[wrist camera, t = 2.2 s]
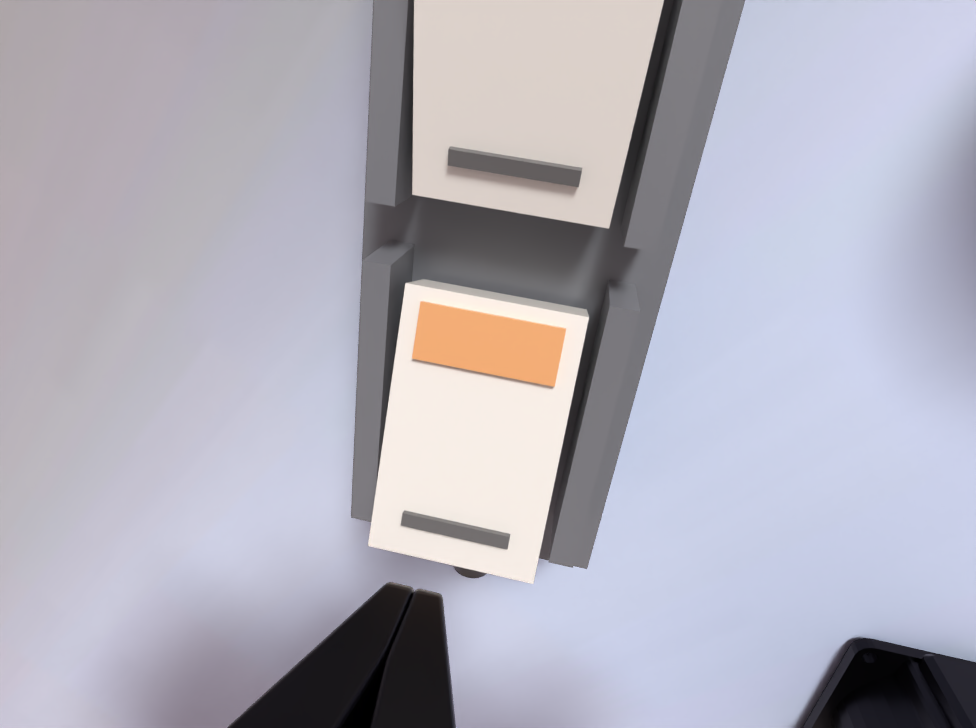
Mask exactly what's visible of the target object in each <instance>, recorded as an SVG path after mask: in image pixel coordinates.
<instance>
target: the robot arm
mask: <svg viewBox="0 0 976 728" xmlns="http://www.w3.org/2000/svg"><path fill="white" fill-rule="evenodd" d="M866 653H867V654H866ZM227 728H456V724H455V714H454V704H453V694H452V685H451V675H450V665H449V655H448V646H447V636H446V626H445V616H444V607H443V598H442V596H441V595H440V594H439V593H435V592H431V591H427V590H423V589H417V590H416V591H415V592H414V589H413V588H412V587H410V586H406V585H401V584H397V583H393V582H389V583H386V584H385V585H384V586H383V587H381V588H380V589H379V590H378V591H377V592H376V593H375V594H374V595H373V596H372V597H370V598H369V599H368V600H367V601H366V602H365V603H364V604H363V605H362V606H361V607H359V608H358V609H357V610H356V611H355V612H354V613H353V614H352V615H351V616H350V617H348V618H347V619H346V620H345V621H344V622H343V623H342V624H341V625H340V626H339V627H337V628H336V629H335V630H334V631H333V632H332V633H331V634H330V635H329V636H328V637H326V638H325V639H324V640H323V641H322V642H321V643H320V644H319V645H318V646H317V647H315V648H314V649H313V650H312V651H311V652H310V653H309V654H308V655H307V656H306V657H304V658H303V659H302V660H301V661H300V662H299V663H298V664H297V665H296V666H295V667H293V668H292V669H291V670H290V671H289V672H288V673H287V674H286V675H285V676H284V677H282V678H281V679H280V680H279V681H278V682H277V683H276V684H275V685H274V686H273V687H271V688H270V689H269V690H268V691H267V692H266V693H265V694H264V695H263V696H262V697H260V698H259V699H258V700H257V701H256V702H255V703H254V704H253V705H252V706H251V707H249V708H248V709H247V710H246V711H245V712H244V713H243V714H242V715H241V716H240V717H238V718H237V719H236V720H235V721H234V722H233V723H232V724H231V725H230V726H229V727H227ZM803 728H976V662H971V661H967V660H963V659H958V658H954V657H949V656H945V655H940V654H936V653H932V652H927V651H923V650H918V649H914V648H910V647H905V646H901V645H896V644H892V643H888V642H883V641H879V640H874V639H868V638H863V639H858V640H856V641H854V642H853V643H852V644H851V645H850V647H849V649H848V651H847V652H846V654H845V656H844V657H843V659H842V661H841V663H840V664H839V666H838V668H837V669H836V671H835V673H834V675H833V676H832V678H831V680H830V681H829V683H828V685H827V687H826V688H825V690H824V692H823V694H822V695H821V697H820V699H819V700H818V702H817V704H816V706H815V707H814V709H813V711H812V712H811V714H810V716H809V718H808V719H807V721H806V723H805V724H804V726H803Z"/></svg>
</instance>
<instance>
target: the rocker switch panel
mask: <svg viewBox="0 0 976 728" xmlns="http://www.w3.org/2000/svg"><path fill="white" fill-rule="evenodd" d="M744 2H745V0H664V3H663V7H662V11H661V15H660V19H659V23H658V28H657V32H656V36H655V40H654V44H653V48H652V52H651V57H650V61H649V65H648V69H647V73H646V77H645V81H644V86H643V90H642V94H641V98H640V102H639V106H638V111H637V115H636V119H635V123H634V127H633V131H632V135H631V140H630V144H629V148H628V152H627V156H626V160H625V164H624V169H623V173H622V177H621V181H620V185H619V189H618V193H617V198H616V202H615V206H614V210H613V214H612V218H611V223H610V227H609V229H608V228H602V227H597V226H591V225H585V224H579V223H573V222H568V221H562V220H556V219H550V218H545V217H539V216H533V215H527V214H521V213H516V212H510V211H504V210H498V209H492V208H487V207H481V206H475V205H469V204H463V203H458V202H452V201H446V200H440V199H434V198H429V197H423V196H417V195H412V177H413V68H414V0H373V23H372V46H371V69H370V92H369V115H368V138H367V161H366V183H365V206H364V229H363V252H362V275H361V298H360V321H359V344H358V367H357V390H356V413H355V436H354V459H353V482H352V505H351V518H356V519H360V520H364V521H369V522H371V521H372V514H373V507H374V500H375V493H376V486H377V479H378V472H379V465H380V458H381V451H382V444H383V437H384V430H385V423H386V416H387V409H388V402H389V395H390V388H391V381H392V374H393V367H394V360H395V353H396V346H397V339H398V332H399V325H400V318H401V311H402V304H403V297H404V290H405V283H408V282H412V281H417V280H422V279H426V280H431V281H437V282H442V283H448V284H453V285H458V286H464V287H469V288H475V289H480V290H485V291H491V292H496V293H501V294H507V295H512V296H518V297H523V298H528V299H534V300H539V301H545V302H550V303H555V304H561V305H566V306H571V307H577V308H582V309H587V312H588V315H589V320H588V325H587V330H586V335H585V339H584V344H583V349H582V354H581V358H580V363H579V368H578V373H577V377H576V382H575V387H574V392H573V397H572V401H571V406H570V411H569V416H568V420H567V425H566V430H565V435H564V440H563V444H562V449H561V454H560V459H559V463H558V468H557V473H556V478H555V482H554V487H553V492H552V497H551V502H550V506H549V511H548V516H547V521H546V525H545V530H544V535H543V540H542V545H541V549H540V554H539V558H541V559H545V560H549V562H550V563H554V564H559V565H563V566H568V567H572V568H573V566H576V567H580V568H585V569H587V567H588V563H589V560H590V556H591V552H592V549H593V545H594V542H595V538H596V534H597V531H598V527H599V524H600V520H601V517H602V513H603V509H604V506H605V502H606V499H607V495H608V491H609V488H610V484H611V481H612V477H613V473H614V470H615V466H616V463H617V459H618V455H619V452H620V448H621V445H622V441H623V437H624V434H625V430H626V427H627V423H628V419H629V416H630V412H631V409H632V405H633V401H634V398H635V394H636V391H637V387H638V384H639V380H640V376H641V373H642V369H643V366H644V362H645V358H646V355H647V351H648V348H649V344H650V340H651V337H652V333H653V330H654V326H655V322H656V319H657V315H658V312H659V308H660V304H661V301H662V297H663V294H664V290H665V286H666V283H667V279H668V276H669V272H670V268H671V265H672V261H673V258H674V254H675V251H676V247H677V243H678V240H679V236H680V233H681V229H682V225H683V222H684V218H685V215H686V211H687V207H688V204H689V200H690V197H691V193H692V189H693V186H694V182H695V179H696V175H697V171H698V168H699V164H700V161H701V157H702V153H703V150H704V146H705V143H706V139H707V135H708V132H709V128H710V125H711V121H712V118H713V114H714V110H715V107H716V103H717V100H718V96H719V92H720V89H721V85H722V82H723V78H724V74H725V71H726V67H727V64H728V60H729V56H730V53H731V49H732V46H733V42H734V38H735V35H736V31H737V28H738V24H739V20H740V17H741V13H742V10H743V6H744ZM454 568H455V570H456V571H457V572H458V573H459V574H461V575H463V576H465V577H468V578H479V577H482V576H484V575H486V574H487V573H483V572H479V571H475V570H470V569H466V568H462V567H457V566H454Z"/></svg>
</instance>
